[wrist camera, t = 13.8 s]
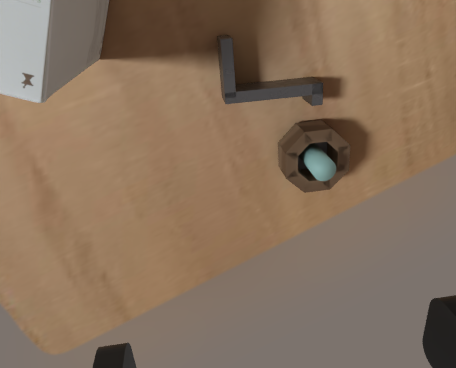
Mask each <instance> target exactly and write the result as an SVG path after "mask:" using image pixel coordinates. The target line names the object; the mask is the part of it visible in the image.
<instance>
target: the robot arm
mask: <svg viewBox="0 0 456 368" xmlns="http://www.w3.org/2000/svg"><path fill="white" fill-rule="evenodd" d="M423 348H424V352H425V355H426V357H427V359H428V361H429V363H430V365H431V366H432V367H433V368H456V295H455V296H448V297H441V298H434V299H433V300H431V302H430V305H429V310H428V315H427V320H426V325H425V330H424V335H423ZM93 368H136V364H135V361H134V357H133V353H132V349H131V346H130V344H129V343H124V344H117V345H110V346H104V347H99V348H98V350H97V352H96V355H95V360H94V364H93Z"/></svg>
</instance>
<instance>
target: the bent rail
mask: <svg viewBox="0 0 456 368" xmlns="http://www.w3.org/2000/svg"><path fill="white" fill-rule="evenodd" d="M217 42H218V54H219V66H220V78H221V90H222V98H223V100H224V102H225V104H232V103H241V102H251V101H260V100H270V99H279V98H289V97H298V96H303V99H304V100H305V101H307V102H308V103H309V104H310V105H312V106H315V105H322V103H323V83H322V82H321V81H319V80H317V79H316V78H314V77H306V78H297V79H287V80H277V81H267V82H257V83H247V84H237V85H235V73H234V57H233V42H232V38H231V37H230V36H228V35H224V36H217Z"/></svg>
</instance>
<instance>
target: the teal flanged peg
mask: <svg viewBox="0 0 456 368" xmlns="http://www.w3.org/2000/svg"><path fill="white" fill-rule="evenodd" d="M298 168H300V169H309V170H310V172H311V173H312V174H313V176H314V177H315V178H316V179H317V180H319V181H327V180H329V179H331V178H332V177H333V176H334V174H335V172H336V165H335V163H334V162H333V161H332V160H331V159H330V158H329V157H328V156H327V142H319V143H311V144H309V145H308V146H307V147H306V148H305V149H304V150H303V151H302V153H301V154H300V155H299V156H298Z"/></svg>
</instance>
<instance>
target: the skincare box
mask: <svg viewBox="0 0 456 368" xmlns="http://www.w3.org/2000/svg"><path fill="white" fill-rule="evenodd" d="M108 5H109V0H0V94H3V95H7V96H12V97H16V98H20V99H24V100H28V101H32V102H38V103H42V102H46V100H47V99H48V98H49V97H50V96H51V95H52V94H53V93H55V92H56V91H57V90H59V89H60V88H61V87H63V86H64V85H65V84H67V83H68V82H69V81H71V80H72V79H73V78H75V77H76V76H77V75H79V74H80V73H81V72H83V71H84V70H85V69H87V68H88V67H89V66H91V65H92V64H94V63H95V62H96V61H98V60H99V59H100V54H101V49H102V43H103V37H104V31H105V24H106V18H107V12H108Z"/></svg>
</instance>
